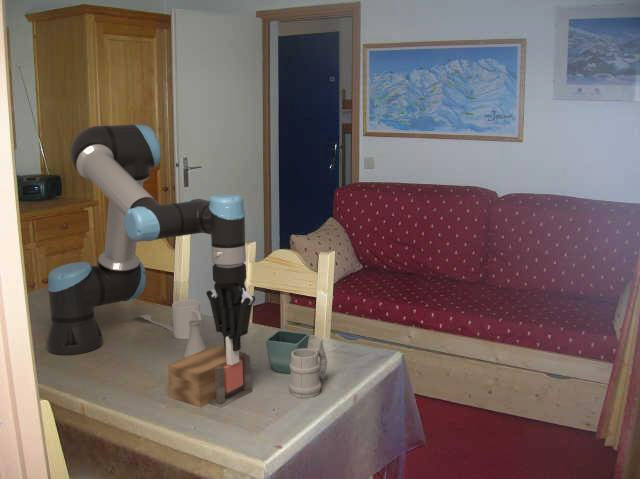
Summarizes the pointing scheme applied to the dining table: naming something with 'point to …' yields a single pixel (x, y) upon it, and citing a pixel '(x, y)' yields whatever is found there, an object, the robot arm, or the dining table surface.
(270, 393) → the dining table surface
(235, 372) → the block
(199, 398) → the block
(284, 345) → the flower pot
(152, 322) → the fork
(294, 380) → the mug
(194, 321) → the flask
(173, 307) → the mug
